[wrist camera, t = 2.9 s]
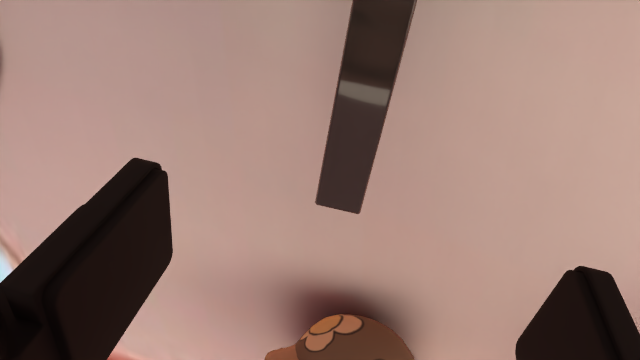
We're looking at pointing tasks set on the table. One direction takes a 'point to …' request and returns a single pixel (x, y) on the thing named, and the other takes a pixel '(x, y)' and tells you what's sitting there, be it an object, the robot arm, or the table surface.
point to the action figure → (346, 341)
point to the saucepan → (362, 99)
